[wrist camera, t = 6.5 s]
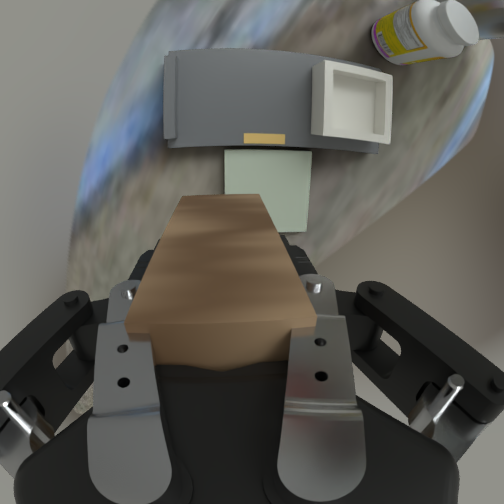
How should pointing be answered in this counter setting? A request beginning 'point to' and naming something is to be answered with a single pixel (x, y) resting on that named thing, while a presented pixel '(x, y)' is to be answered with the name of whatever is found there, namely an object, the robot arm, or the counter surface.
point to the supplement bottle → (425, 32)
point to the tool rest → (273, 182)
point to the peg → (220, 287)
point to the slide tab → (351, 102)
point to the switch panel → (245, 99)
